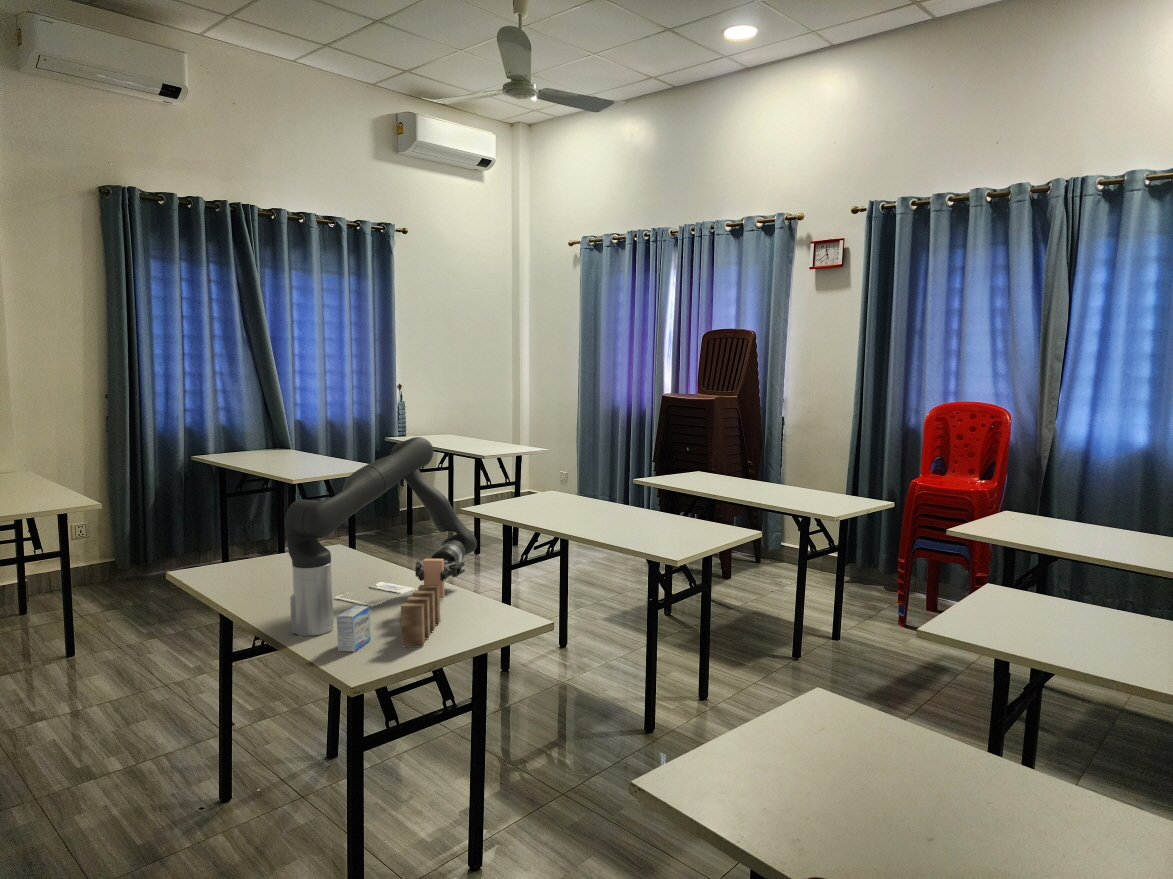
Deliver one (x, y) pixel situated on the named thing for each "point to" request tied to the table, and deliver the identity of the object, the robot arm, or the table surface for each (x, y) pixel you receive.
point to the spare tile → (434, 573)
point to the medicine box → (353, 628)
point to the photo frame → (386, 587)
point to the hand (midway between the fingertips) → (431, 577)
